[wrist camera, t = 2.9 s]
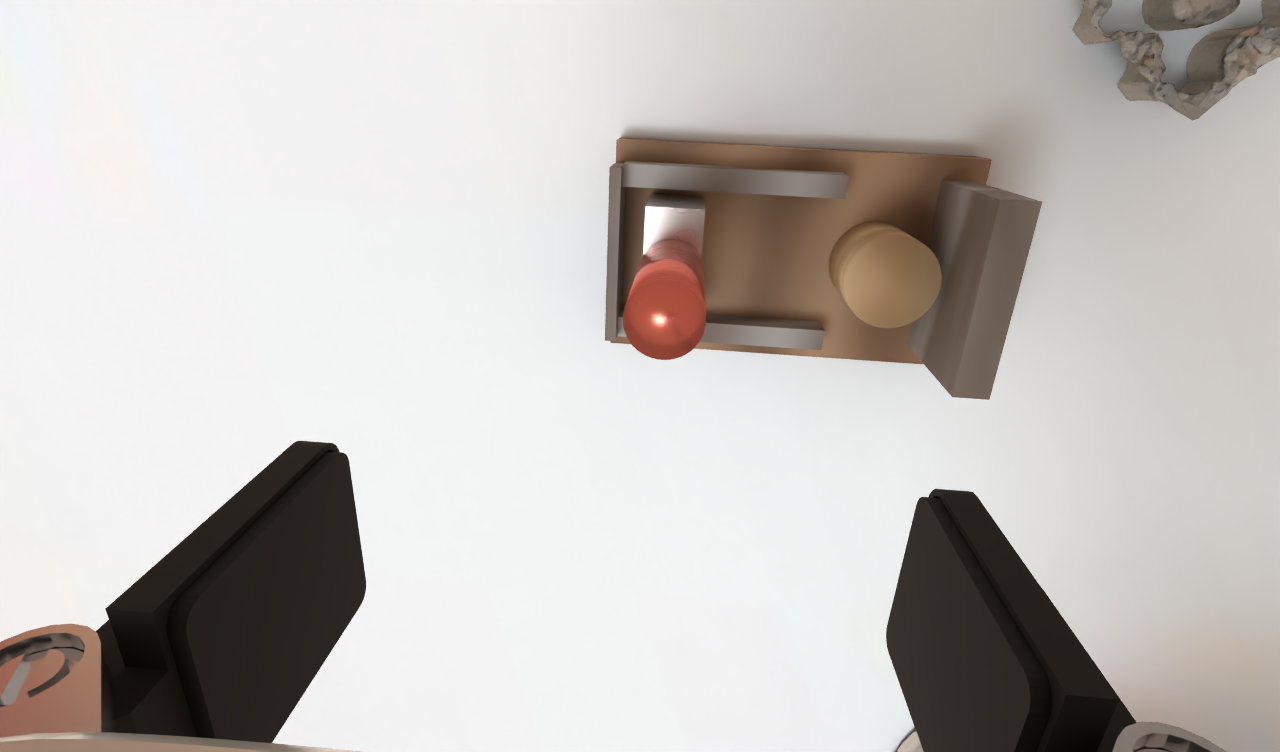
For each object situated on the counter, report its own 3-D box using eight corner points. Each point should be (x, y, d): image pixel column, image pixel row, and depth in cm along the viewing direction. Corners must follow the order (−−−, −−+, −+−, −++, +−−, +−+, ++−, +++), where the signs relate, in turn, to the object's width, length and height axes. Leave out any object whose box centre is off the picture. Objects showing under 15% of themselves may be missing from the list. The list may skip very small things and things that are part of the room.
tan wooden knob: (921, 223, 32) (950, 239, 28) (904, 305, 33) (930, 331, 30) (835, 218, 32) (853, 234, 28) (822, 300, 34) (838, 325, 30)
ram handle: (707, 196, 32) (712, 243, 22) (698, 307, 34) (699, 396, 24) (648, 193, 32) (625, 237, 22) (642, 303, 34) (619, 391, 24)
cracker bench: (978, 156, 32) (1064, 174, 24) (933, 355, 36) (995, 422, 28) (619, 138, 33) (597, 149, 25) (613, 333, 37) (593, 392, 29)
